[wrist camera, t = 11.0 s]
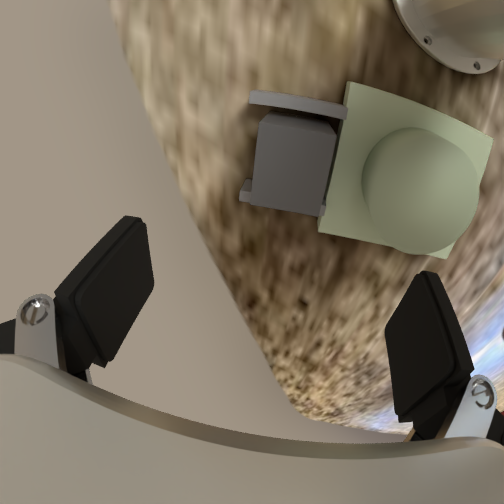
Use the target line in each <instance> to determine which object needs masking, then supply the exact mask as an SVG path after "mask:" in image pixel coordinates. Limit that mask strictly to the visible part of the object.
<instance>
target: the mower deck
mask: <svg viewBox="0 0 504 504" xmlns="http://www.w3.org/2000/svg"><path fill="white" fill-rule="evenodd" d="M249 103H252V104H260V105H268V106H275V107H282V108H288V109H294V110H300V111H306V112H311V113H316V114H321V115H326V116H330V117H335V118H339V119H340V122H339V128H338V133H337V138H336V142H335V147H334V152H333V157H332V161H331V166H330V170H329V175H328V179H327V184H326V188H325V192H324V197H323V201H322V205H321V209H320V213H319V217H318V221H317V224H318V232H322V233H328V234H333V235H338V236H343V237H347V238H352V239H357V240H362V241H367V242H372V243H376V244H381V245H386V246H390V247H394V248H395V249H397V250H399V251H401V252H405V253H408V254H415V255H422V254H426V255H430V256H434V257H438V258H443V259H447V257H448V255H449V253H450V251H451V249H452V247H453V245H454V243H455V241H456V240H457V239H458V238H459V237H460V236H461V235H462V234H463V233H464V232H465V230H466V229H467V228H468V226H469V225H470V223H471V221H472V219H473V217H474V215H475V212H476V209H477V205H478V200H479V185H480V182H481V179H482V176H483V173H484V170H485V167H486V164H487V161H488V158H489V154H490V151H491V147H492V144H493V140H494V139H493V138H491V137H489V136H487V135H486V134H484V133H482V132H480V131H478V130H476V129H474V128H473V127H471V126H469V125H467V124H465V123H463V122H461V121H459V120H456V119H454V118H452V117H450V116H448V115H446V114H443V113H441V112H439V111H437V110H434V109H432V108H429V107H427V106H425V105H422V104H419V103H417V102H414V101H412V100H409V99H406V98H403V97H400V96H398V95H395V94H392V93H389V92H386V91H382V90H379V89H376V88H372V87H369V86H366V85H362V84H358V83H354V82H349V81H347V84H346V90H345V96H344V101H343V105H342V104H338V103H333V102H329V101H324V100H319V99H314V98H309V97H303V96H298V95H292V94H285V93H278V92H271V91H263V90H253V91H250V97H249ZM251 189H252V179H246V180H245V182H244V184H243V186H242V188H241V190H240V196H239V201H242V202H248V203H250V198H251Z"/></svg>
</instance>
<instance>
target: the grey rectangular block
mask: <svg viewBox="0 0 504 504" xmlns="http://www.w3.org/2000/svg"><path fill="white" fill-rule="evenodd" d="M336 137H337V136H336V134H335V133H334V131H333V129H332V128H331V126H330V125H329V123H328V121H325V120H320V119H315V118H310V117H304V116H299V115H293V114H287V113H280V112H274V111H270V112H269V113H268V114H267V115H266V116H265V117H264V118H263V119H262V120H261V121H260V122H259V127H258V136H257V144H256V153H255V162H254V171H253V180H252V189H251V198H250V205H255V206H261V207H267V208H273V209H279V210H284V211H290V212H295V213H301V214H306V215H311V216H316V217H319V213H320V209H321V205H322V201H323V197H324V192H325V188H326V184H327V179H328V175H329V170H330V166H331V161H332V157H333V152H334V147H335V142H336Z"/></svg>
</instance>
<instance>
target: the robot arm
mask: <svg viewBox="0 0 504 504" xmlns="http://www.w3.org/2000/svg"><path fill="white" fill-rule="evenodd" d="M393 4H394V7H395V10H396V12H397V14H398V16H399V18H400V21H401V22H402V24H403V25H404V27H405V29H406V30H407V32H408V33H409V34H410V36H411V37H412V38H413V39H414V41H415V42H416V43H417V44H418V45H419V46H420V47H421V48H422V49H423V50H424V51H425V52H426V53H427V54H428V55H430V56H431V57H432V58H434V59H435V60H436V61H438V62H439V63H441V64H443V65H445V66H446V67H448V68H451V69H453V70H456V71H458V72H463V73H469V74H481V73H486V72H488V71H490V70H492V69H494V68H495V67H496V66H497V65H498V64H499V62H500V61H501V60H504V0H393ZM424 39H425V40H426V43H425V42H424ZM153 287H154V277H153V271H152V264H151V257H150V251H149V244H148V235H147V227H146V224H145V223H143V221H142V219H141V218H139V217H133V216H124V217H123V218H122V219H121V220H120V221H119V222H118V223H117V224H116V225H115V226H114V227H113V228H112V229H111V230H110V231H109V232H108V233H107V234H106V235H105V236H104V237H103V238H102V239H101V240H100V241H99V242H98V243H97V244H96V245H95V246H94V247H93V248H92V249H91V250H90V251H89V253H88V254H87V255H86V256H85V257H84V258H83V259H82V260H81V261H80V262H79V264H78V265H77V266H76V267H75V268H74V269H73V270H72V271H71V272H70V274H69V275H68V276H67V277H66V278H65V279H64V281H63V282H62V283H61V284H60V285H59V287H58V288H57V289H56V290H55V291H54V293H55V295H56V297H55V298H54V299H53V300H52V298H51V297H50V296H48V295H46V294H36V295H33V296H31V297H29V298H28V299H26V300H25V301H24V302H23V303H22V304H21V305H20V307H19V309H18V311H17V315H16V319H13V320H10V321H7V322H4V323H1V324H0V504H504V416H503V415H502V414H501V413H500V412H499V411H498V410H497V409H496V405H497V393H496V389H495V387H494V385H493V383H492V382H491V381H490V380H489V379H488V378H487V377H485V376H483V375H475V376H473V377H472V378H471V376H470V373H471V372H472V371H473V370H474V366H473V363H472V359H471V356H470V353H469V350H468V347H467V344H466V341H465V338H464V336H463V333H462V330H461V327H460V325H459V322H458V320H457V317H456V314H455V312H454V309H453V307H452V305H451V302H450V300H449V298H448V295H447V293H446V291H445V289H444V286H443V284H442V282H441V280H440V278H439V276H438V274H437V273H433V272H429V271H421V272H420V273H419V274H416V275H415V277H414V279H413V280H412V282H411V284H410V286H409V288H408V289H407V291H406V293H405V295H404V296H403V298H402V300H401V302H400V303H399V305H398V307H397V308H396V310H395V312H394V313H393V315H392V316H391V318H390V320H389V321H388V323H387V324H386V327H385V339H386V345H387V352H388V358H389V365H390V373H391V381H392V389H393V399H394V410H395V413H396V415H398V421H399V423H403V422H412V421H413V428H412V430H411V431H410V433H409V434H408V436H407V437H406V439H405V440H404V441H403V442H397V443H375V444H345V443H323V442H309V441H298V440H288V439H281V438H273V437H266V436H260V435H254V434H248V433H242V432H238V431H233V430H228V429H223V428H219V427H214V426H210V425H206V424H203V423H199V422H195V421H191V420H188V419H184V418H181V417H177V416H174V415H171V414H167V413H164V412H161V411H158V410H155V409H152V408H149V407H146V406H144V405H141V404H138V403H135V402H133V401H130V400H127V399H125V398H122V397H120V396H117V395H115V394H113V393H110V392H108V391H106V390H103V389H101V388H98V387H96V386H94V385H93V384H92V380H91V376H90V371H89V367H90V365H91V364H92V363H94V364H96V365H99V366H101V367H103V368H105V367H106V365H107V363H108V361H109V362H110V361H112V360H113V359H114V357H115V355H116V354H117V352H118V350H119V348H120V346H121V344H122V343H123V340H124V339H125V337H126V335H127V333H128V332H129V330H130V328H131V326H132V325H133V323H134V321H135V319H136V318H137V316H138V314H139V312H140V311H141V309H142V307H143V305H144V304H145V302H146V300H147V299H148V297H149V295H150V294H151V292H152V290H153Z"/></svg>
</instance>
